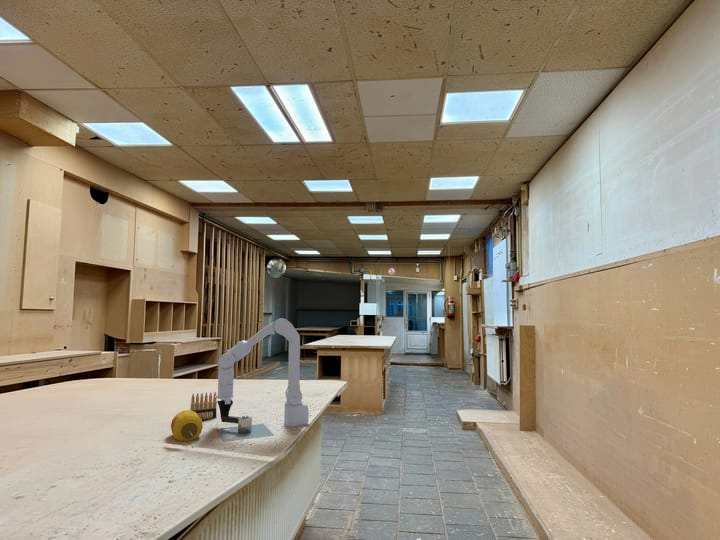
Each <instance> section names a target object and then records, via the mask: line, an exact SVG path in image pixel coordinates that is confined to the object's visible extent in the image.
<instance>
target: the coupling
mask: <svg viewBox="0 0 720 540" xmlns="http://www.w3.org/2000/svg"><path fill="white" fill-rule="evenodd" d="M220 420H221V423H230V424H237V427H238V432H239V433H248V432H251V431H252V425H253V417H252V416H248V415H242V416H231V415H228V416H222V418H221V417H220Z"/></svg>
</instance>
